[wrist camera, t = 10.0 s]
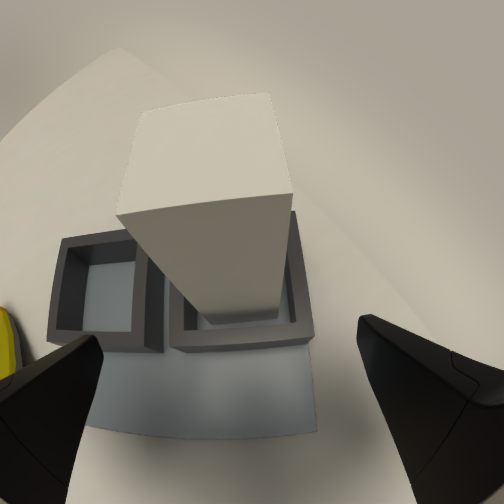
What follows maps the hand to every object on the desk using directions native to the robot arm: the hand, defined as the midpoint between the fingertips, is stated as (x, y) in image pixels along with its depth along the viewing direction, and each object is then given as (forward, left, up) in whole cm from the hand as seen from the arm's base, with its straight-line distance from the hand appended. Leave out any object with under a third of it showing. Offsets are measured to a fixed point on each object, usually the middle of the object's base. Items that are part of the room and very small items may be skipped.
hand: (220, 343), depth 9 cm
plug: (+4, -2, -8) cm, 9 cm away
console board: (+3, +3, -9) cm, 10 cm away
